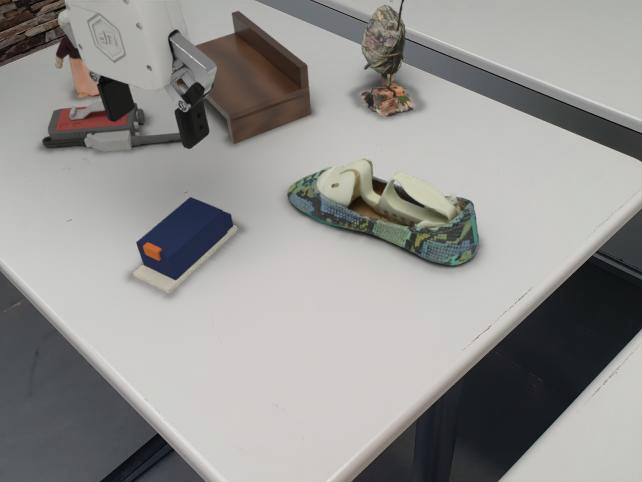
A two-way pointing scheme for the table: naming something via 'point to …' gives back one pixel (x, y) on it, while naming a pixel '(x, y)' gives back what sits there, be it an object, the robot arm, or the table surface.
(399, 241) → the ballet flat
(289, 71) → the shoe shelf
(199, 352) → the table surface
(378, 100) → the plant with pod
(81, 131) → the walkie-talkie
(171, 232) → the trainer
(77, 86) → the grandmother figurine
